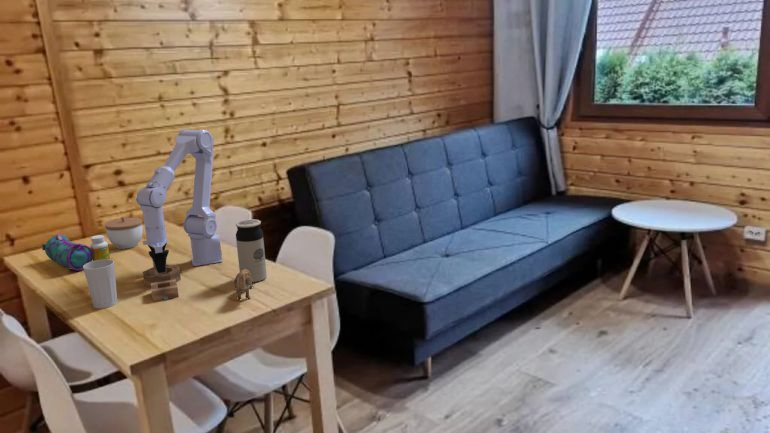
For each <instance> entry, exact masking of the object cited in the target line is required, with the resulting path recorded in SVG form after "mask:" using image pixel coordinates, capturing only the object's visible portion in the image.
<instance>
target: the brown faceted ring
mask: <svg viewBox="0 0 770 433" xmlns="http://www.w3.org/2000/svg"><path fill="white" fill-rule="evenodd" d="M166 270H167V274H162V275H155V272H154V266H152V267H151V268H148V269H146V270H143V271H142V274H143V282H144V283H143V284H144V286H145V287H151V283H156V282H162V281H168V280H174V279H176V283H177V282H179V281H182V277H181V271H180V268H179V265H174V264H173V265H172V264H166Z"/></svg>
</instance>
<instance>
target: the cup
mask: <svg viewBox="0 0 770 433" xmlns="http://www.w3.org/2000/svg"><path fill="white" fill-rule="evenodd" d="M115 268H116V266H115V261H114V260H113V259H111V258H110V259H102V260H96V261H93V260H92V262H89V263H86V264H85V265H83V269H84V270H83V273H84V276H85V279H86V283H87V286H88V290H89V294H90V297H91V301H92V307H93V308H94V309H107V308H110V307H114V306H115V305H117V303H118V302H119V301H118V295H117V282H116V271H115V270H116V269H115Z"/></svg>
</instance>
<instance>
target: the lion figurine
mask: <svg viewBox="0 0 770 433" xmlns="http://www.w3.org/2000/svg"><path fill="white" fill-rule="evenodd" d="M234 278H235V279H234V280H233V281H234V282H233V284H234V289H235V293H236V297H237V298H236V301H237V300H240V299H241V300H242V296H241V293H245V298H250V297H251V296H250V289H253V288H254V286H253V283H254V282H253V281H254V280H253V279H251V274H250V271H249V270H246V269H244V270H241V271H240V270H239V273H237V274H236V276H235V277H234ZM252 282H253V283H252ZM252 287H253V288H252Z"/></svg>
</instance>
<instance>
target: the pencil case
mask: <svg viewBox="0 0 770 433" xmlns="http://www.w3.org/2000/svg"><path fill="white" fill-rule="evenodd" d="M41 250H42V251H45V255H46V256H47V258H48V259H50V260H51V261H53V262H54V263H57V264H58V265H60V266H63V267H64V268H65V267H66V268H68V269H70V270H74V271H77V272H80V271H81V272H82V271H84V269H83V265H85V264H86V263H89V262H92V261H93V251H92V249H91V248H90V247H89V246H88V245H86V244H81V243H76V242H73V241H71V240H70V239H69V237H67V236H66V235H64V234H58V233H57V234H56V235H53V236H52V237H51V238H49V239H48V240H47V241H46V244H43V243H42V244H41Z"/></svg>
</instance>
